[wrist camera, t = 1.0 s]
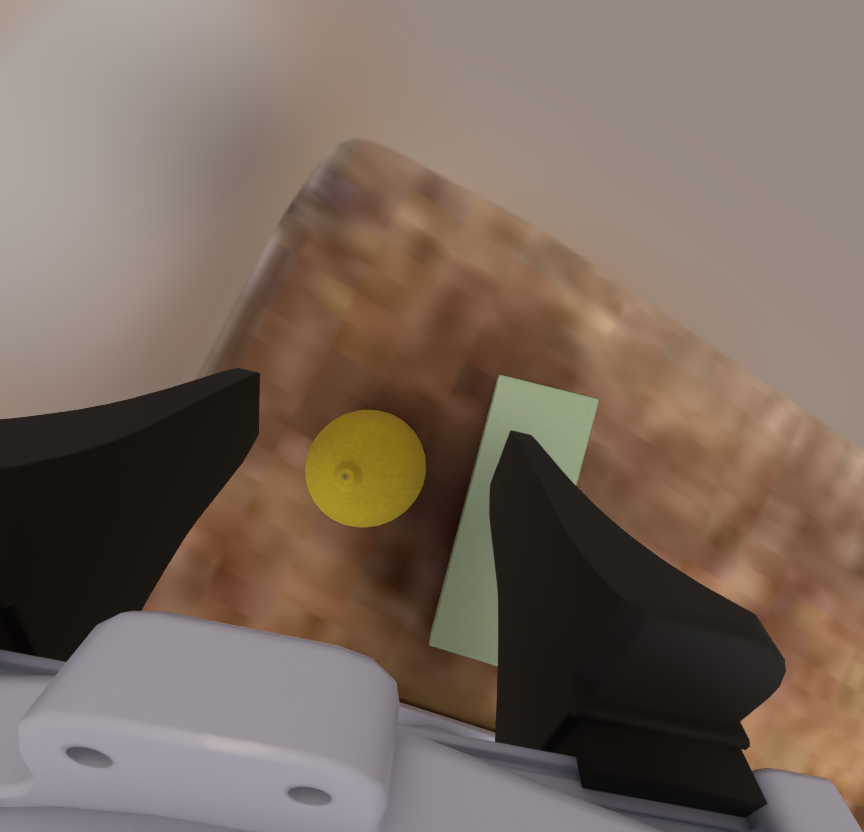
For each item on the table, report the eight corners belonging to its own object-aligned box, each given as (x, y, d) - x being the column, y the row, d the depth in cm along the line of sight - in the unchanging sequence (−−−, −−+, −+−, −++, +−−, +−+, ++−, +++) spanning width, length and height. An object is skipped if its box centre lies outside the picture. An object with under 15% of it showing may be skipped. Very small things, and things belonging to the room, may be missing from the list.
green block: (519, 643, 24) (526, 676, 21) (433, 618, 24) (428, 645, 21) (582, 402, 24) (599, 399, 21) (495, 380, 24) (499, 374, 21)
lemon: (448, 437, 24) (439, 444, 16) (406, 524, 24) (376, 574, 16) (362, 395, 25) (313, 382, 17) (321, 481, 25) (253, 509, 17)
